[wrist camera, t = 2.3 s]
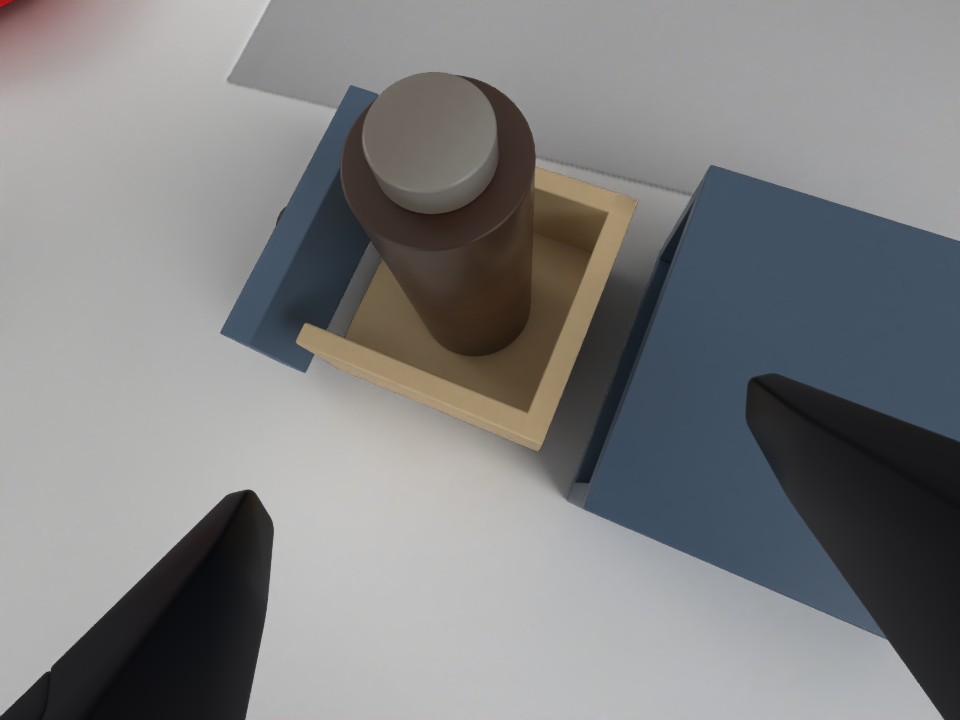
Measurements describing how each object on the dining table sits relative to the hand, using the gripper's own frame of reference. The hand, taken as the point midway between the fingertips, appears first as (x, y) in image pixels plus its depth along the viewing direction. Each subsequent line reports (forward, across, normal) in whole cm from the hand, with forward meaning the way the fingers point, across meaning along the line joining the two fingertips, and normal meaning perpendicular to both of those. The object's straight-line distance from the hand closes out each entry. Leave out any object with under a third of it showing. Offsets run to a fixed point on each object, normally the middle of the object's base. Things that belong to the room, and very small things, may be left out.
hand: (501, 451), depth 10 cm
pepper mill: (+12, 0, +3) cm, 13 cm away
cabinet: (+9, -10, +9) cm, 16 cm away
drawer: (+14, +2, +3) cm, 14 cm away
